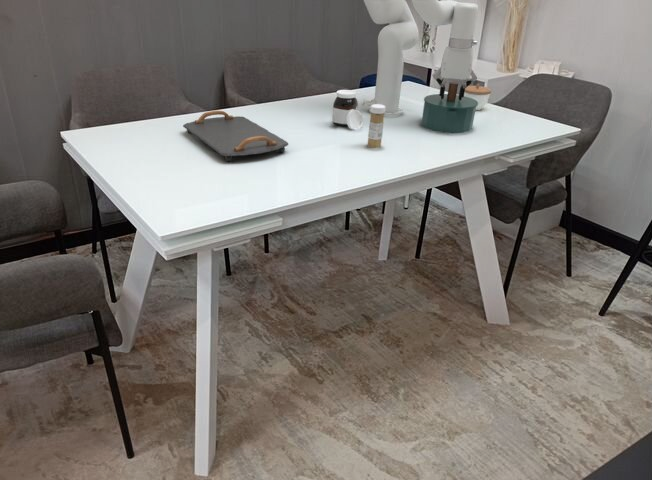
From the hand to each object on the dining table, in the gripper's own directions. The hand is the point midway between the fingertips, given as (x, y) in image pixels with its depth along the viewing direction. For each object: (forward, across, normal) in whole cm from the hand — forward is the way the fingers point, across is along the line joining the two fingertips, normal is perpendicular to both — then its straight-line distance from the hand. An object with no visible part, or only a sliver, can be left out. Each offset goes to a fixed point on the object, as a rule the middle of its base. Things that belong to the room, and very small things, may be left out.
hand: (451, 98), depth 193 cm
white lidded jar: (+10, -13, -29) cm, 33 cm away
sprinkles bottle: (+10, +25, +29) cm, 40 cm away
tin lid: (+1, 0, 0) cm, 1 cm away
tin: (+10, 0, 0) cm, 10 cm away
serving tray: (+10, +70, +34) cm, 79 cm away
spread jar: (+10, +35, +8) cm, 37 cm away
